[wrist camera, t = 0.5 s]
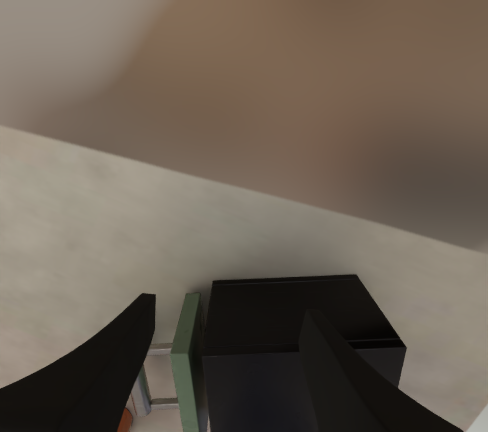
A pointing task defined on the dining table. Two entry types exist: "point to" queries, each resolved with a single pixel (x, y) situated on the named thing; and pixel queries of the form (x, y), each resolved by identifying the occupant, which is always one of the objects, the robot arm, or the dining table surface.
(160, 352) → the green drawer
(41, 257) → the dining table surface
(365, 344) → the drawer cabinet
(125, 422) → the cup
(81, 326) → the dining table surface
